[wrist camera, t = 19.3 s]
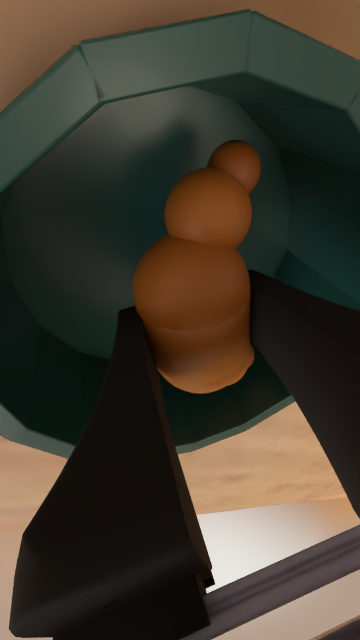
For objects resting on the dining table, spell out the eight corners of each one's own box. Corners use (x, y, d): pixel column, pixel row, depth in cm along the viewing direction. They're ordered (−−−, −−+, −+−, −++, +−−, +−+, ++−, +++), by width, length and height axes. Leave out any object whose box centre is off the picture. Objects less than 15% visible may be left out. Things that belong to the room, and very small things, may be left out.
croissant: (245, 349, 15) (285, 408, 13) (160, 378, 15) (181, 447, 12) (245, 130, 9) (330, 152, 6) (90, 168, 8) (102, 213, 5)
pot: (73, 395, 18) (75, 496, 13) (-136, 104, 8) (-380, 127, 4) (285, 322, 19) (348, 391, 15) (326, 12, 10) (536, -46, 5)
